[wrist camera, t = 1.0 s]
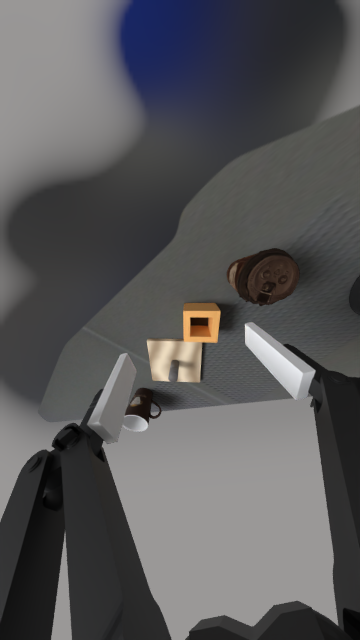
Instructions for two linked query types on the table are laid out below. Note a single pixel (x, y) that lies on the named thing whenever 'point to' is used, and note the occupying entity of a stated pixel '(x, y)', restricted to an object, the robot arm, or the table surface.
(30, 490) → the robot arm
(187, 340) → the orange hollow block
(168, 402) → the table surface
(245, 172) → the table surface
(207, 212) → the table surface
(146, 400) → the coffee mug
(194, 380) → the keeper post
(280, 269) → the coffee cup
